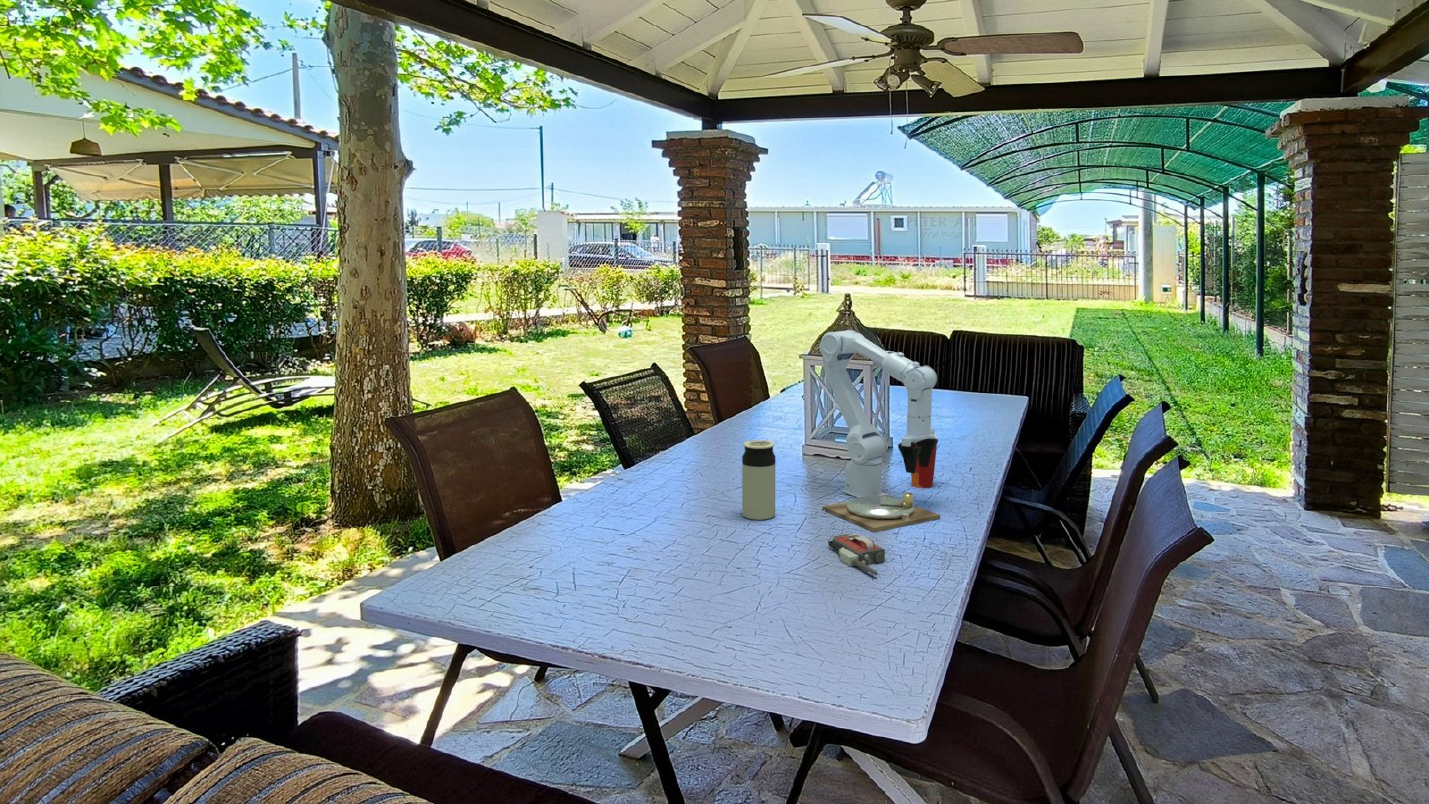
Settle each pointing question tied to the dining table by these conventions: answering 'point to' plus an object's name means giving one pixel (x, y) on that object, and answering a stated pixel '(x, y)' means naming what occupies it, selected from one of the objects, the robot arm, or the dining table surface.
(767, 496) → the travel mug
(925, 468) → the paper cup
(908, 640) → the dining table surface
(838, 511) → the dial base
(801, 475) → the dining table surface
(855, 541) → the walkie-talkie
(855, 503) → the capstan dial
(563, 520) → the dining table surface
